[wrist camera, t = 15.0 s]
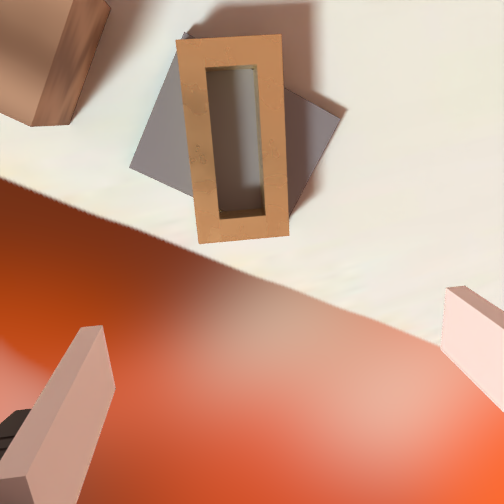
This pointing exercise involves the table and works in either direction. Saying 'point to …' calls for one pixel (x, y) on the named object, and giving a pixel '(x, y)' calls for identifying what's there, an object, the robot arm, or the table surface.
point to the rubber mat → (230, 138)
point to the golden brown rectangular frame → (268, 134)
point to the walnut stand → (46, 56)
